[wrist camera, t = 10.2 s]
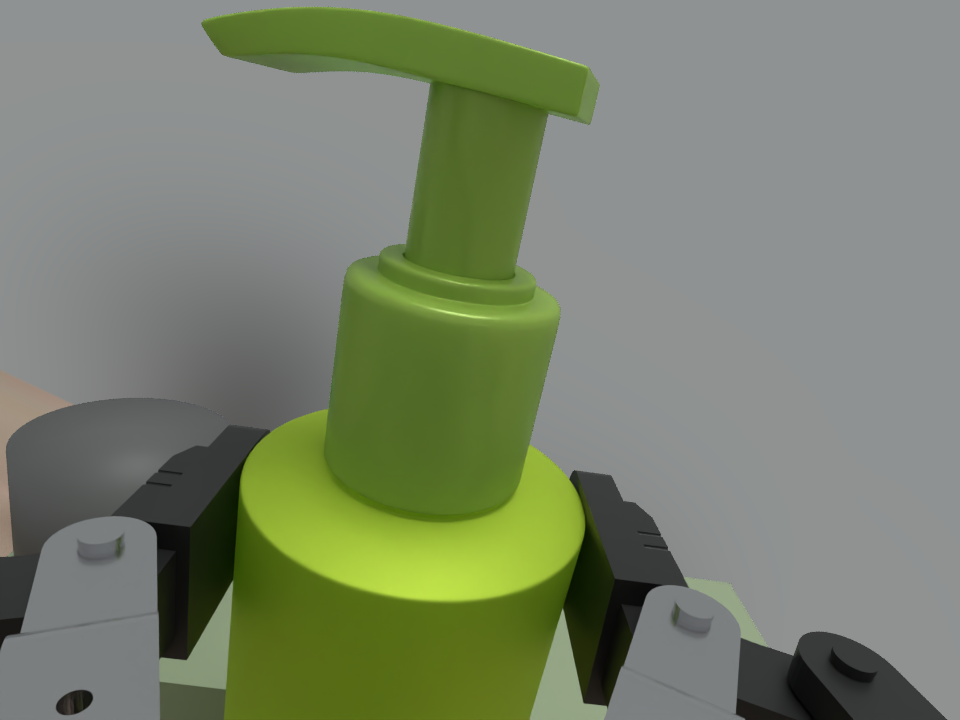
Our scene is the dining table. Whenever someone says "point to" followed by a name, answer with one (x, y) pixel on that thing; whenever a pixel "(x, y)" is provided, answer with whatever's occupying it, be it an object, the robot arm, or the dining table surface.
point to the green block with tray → (202, 677)
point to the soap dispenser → (415, 414)
